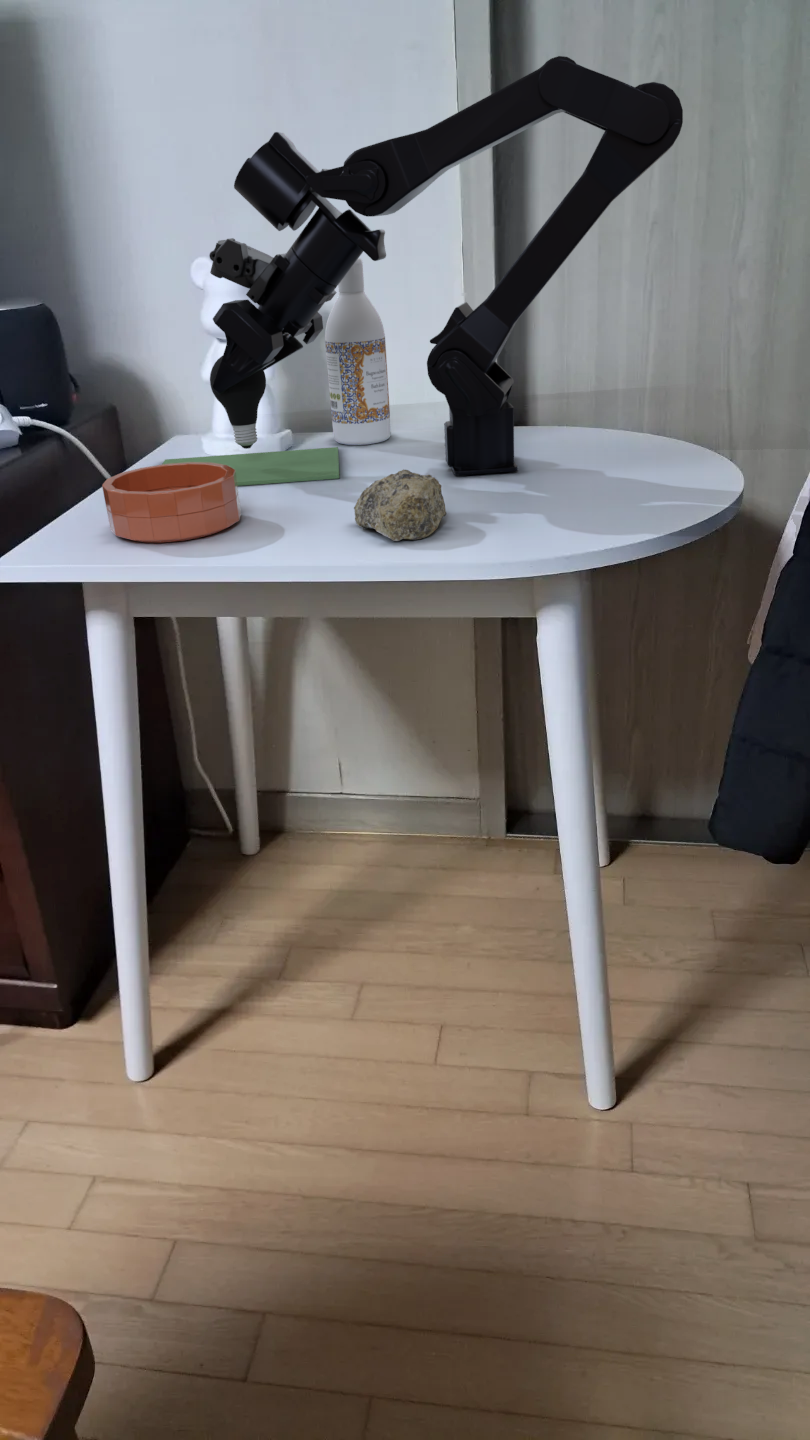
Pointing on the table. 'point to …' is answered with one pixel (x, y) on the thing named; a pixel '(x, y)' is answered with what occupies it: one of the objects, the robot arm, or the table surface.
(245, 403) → the light bulb
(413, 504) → the rock
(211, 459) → the mat
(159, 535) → the pot
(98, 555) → the table surface
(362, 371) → the bath foam
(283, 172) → the robot arm
